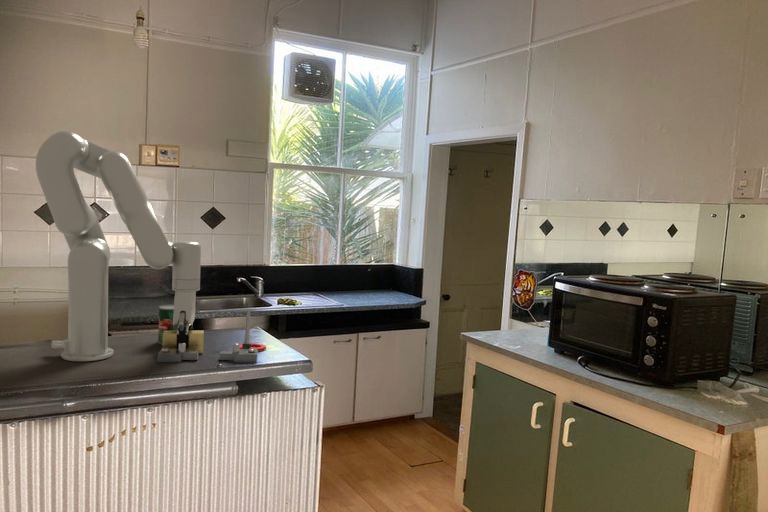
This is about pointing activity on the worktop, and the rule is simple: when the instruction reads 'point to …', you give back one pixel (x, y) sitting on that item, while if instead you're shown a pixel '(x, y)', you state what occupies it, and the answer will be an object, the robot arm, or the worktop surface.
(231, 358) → the grey plate with studs
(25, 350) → the worktop surface
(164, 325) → the canned tomato
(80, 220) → the robot arm
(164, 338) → the tan cork brick
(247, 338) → the tow hook
